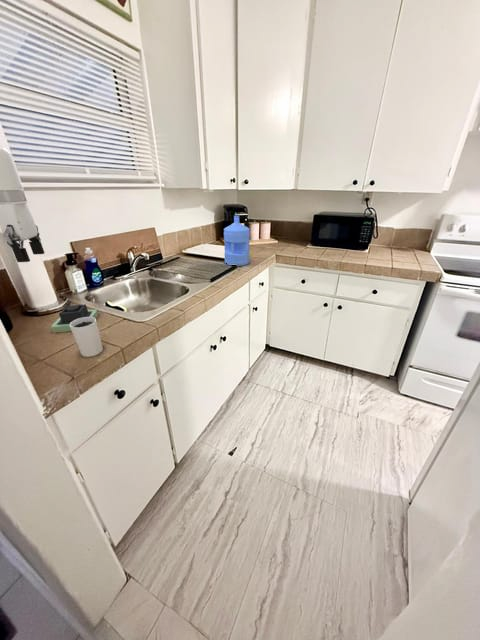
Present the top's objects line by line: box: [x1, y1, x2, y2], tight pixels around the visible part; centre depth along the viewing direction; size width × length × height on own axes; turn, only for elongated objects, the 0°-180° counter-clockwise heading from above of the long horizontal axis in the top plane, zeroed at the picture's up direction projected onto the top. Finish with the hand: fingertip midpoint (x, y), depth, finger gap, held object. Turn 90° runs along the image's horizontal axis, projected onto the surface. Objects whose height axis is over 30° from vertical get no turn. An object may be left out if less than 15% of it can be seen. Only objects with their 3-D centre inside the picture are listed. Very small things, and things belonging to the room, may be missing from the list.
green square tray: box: [50, 309, 99, 333], centre depth 94 cm, size 12×12×2 cm
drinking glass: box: [70, 317, 104, 358], centre depth 76 cm, size 7×7×10 cm
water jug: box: [223, 215, 251, 267], centre depth 158 cm, size 16×16×28 cm
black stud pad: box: [58, 304, 92, 325], centre depth 93 cm, size 8×8×5 cm
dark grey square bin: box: [58, 304, 89, 323], centre depth 93 cm, size 7×7×4 cm
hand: (32, 257), depth 82 cm, fingers open, 9 cm apart
